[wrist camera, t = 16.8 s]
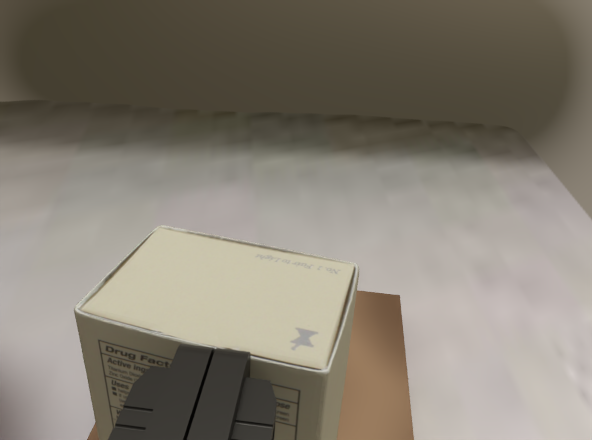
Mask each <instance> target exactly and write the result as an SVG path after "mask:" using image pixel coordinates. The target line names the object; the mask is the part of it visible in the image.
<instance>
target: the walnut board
mask: <svg viewBox="0 0 592 440" xmlns="http://www.w3.org/2000/svg"><path fill="white" fill-rule="evenodd" d="M87 440H99V437H98V432H97V426H96V423H95V425H94V427H93V429H92V431H91V433H90V435H89V437H88V439H87ZM337 440H414V437H413V427H412V416H411V406H410V396H409V386H408V376H407V366H406V355H405V345H404V335H403V325H402V315H401V304H400V295H391V294H383V293H374V292H365V291H357V293H356V301H355V308H354V316H353V324H352V331H351V339H350V347H349V354H348V362H347V369H346V376H345V385H344V392H343V398H342V405H341V413H340V420H339V427H338V435H337Z"/></svg>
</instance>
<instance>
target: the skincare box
mask: <svg viewBox="0 0 592 440" xmlns="http://www.w3.org/2000/svg"><path fill="white" fill-rule="evenodd" d="M358 277H359V266H358V265H357V264H355V263H352V262H347V261H341V260H337V259H333V258H328V257H323V256H319V255H314V254H308V253H304V252H299V251H294V250H288V249H283V248H279V247H273V246H269V245H264V244H258V243H253V242H248V241H244V240H236V239H232V238H227V237H222V236H218V235H213V234H206V233H201V232H196V231H191V230H185V229H181V228H175V227H170V226H164V225H161V226H158V227H156V228H155V229H154V230H153V231H152V232H151V233H150V234H149V235H148V236H147V237H146V238H145V239H144V240H143V241H142V242H141V243H139V244H138V245H137V246H136V247H135V248H134V249H133V250H132V251H131V252H130V253H129V254H128V255H127V256H126V257H125V258H123V259H122V260H121V261H120V262H119V263H118V264H117V265H116V266H115V267H114V268H113V269H112V270H111V271H110V272H109V273H108V274H107V275H106V276H105V277H104V278H103V279H102V280H101V281H100V282H99V283H98V284H97V285H96V286H95V287H94V288H93V289H92V290H91V291H90V292H89V293H88V294H87V295H86V296H85V297H84V298H83V299H82V300H81V301H80V302H79V303H78V304H77V305H76V306H75V308H74V312H75V317H76V322H77V327H78V332H79V337H80V342H81V348H82V353H83V359H84V364H85V368H86V373H87V379H88V384H89V389H90V395H91V400H92V405H93V410H94V415H95V421H96V426H97V432H98V437H99V440H108V438H109V436H110V434H111V432H112V429H113V428H114V427H115V423H116V421H117V418H118V416H119V414H120V412H121V410H123V405H124V403H125V401H126V399H127V396H128V394H129V392H130V390H131V388H132V385H133V383H134V382H135V381H136V380H137V379H138V378H139V377H140V376H142V375H143V374H144V373H145V372H146V371H147V370H148V369H149V368H150V367H151V366H159V367H167V368H170V366H171V363H172V361H173V358H174V356H175V353H176V351H177V348H178V347H179V345H180V344H189V345H197V346H205V347H213V348H215V349H216V348H222V349H230V350H238V351H246V352H250V354H251V362H250V378H255V379H263V380H270V381H271V384H272V387H273V391H274V394H275V397H276V400H277V408H276V421H275V435H274V440H337V435H338V427H339V420H340V413H341V405H342V398H343V392H344V385H345V376H346V369H347V362H348V354H349V347H350V339H351V331H352V324H353V316H354V308H355V301H356V293H357V285H358Z"/></svg>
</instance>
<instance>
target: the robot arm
mask: <svg viewBox="0 0 592 440" xmlns="http://www.w3.org/2000/svg"><path fill="white" fill-rule="evenodd" d="M250 362H251V354H250V352H246V351H238V350H230V349H222V348H216V349H215V348H213V347H205V346H197V345H189V344H180V345H179V347H178V348H177V351H176V353H175V356H174V358H173V361H172V363H171V366H170V368H167V367H159V366H151V367H150V368H149V369H148V370H147V371H146V372H145V373H144V374H143V375H142V376H140V377H139V378H138V379H137V380H136V381H135V382H134V383H133V385H132V388H131V390H130V392H129V394H128V396H127V399H126V401H125V403H124V405H123V410H121V412H120V414H119V416H118V418H117V421H116V423H115V427H114V428H113V429H112V432H111V434H110V436H109V438H108V440H274V435H275V421H276V408H277V400H276V397H275V394H274V391H273V387H272V384H271V381H270V380H263V379H255V378H250Z"/></svg>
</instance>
